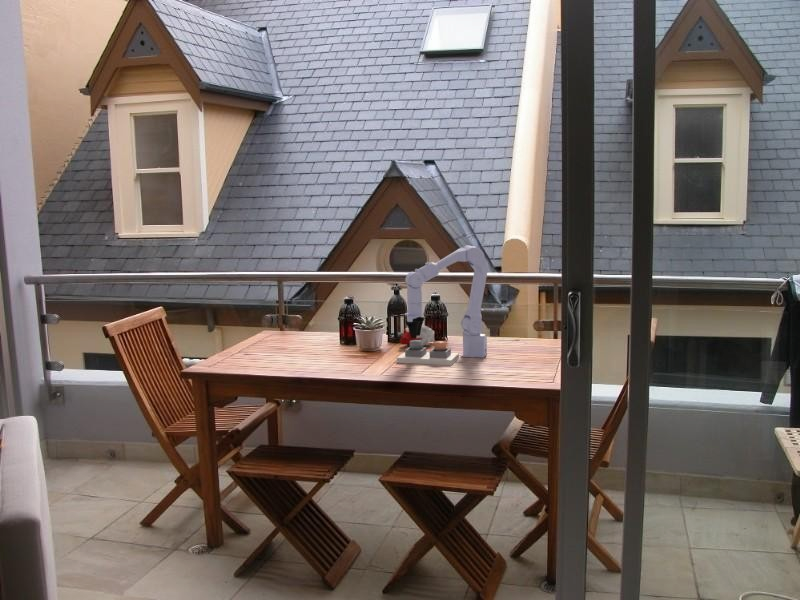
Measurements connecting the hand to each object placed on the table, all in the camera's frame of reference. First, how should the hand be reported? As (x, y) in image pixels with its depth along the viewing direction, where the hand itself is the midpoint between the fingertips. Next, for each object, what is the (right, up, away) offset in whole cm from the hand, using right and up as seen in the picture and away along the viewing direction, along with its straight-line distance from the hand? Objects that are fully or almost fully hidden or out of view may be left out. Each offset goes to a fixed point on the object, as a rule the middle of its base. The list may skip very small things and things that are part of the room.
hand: (415, 336), depth 315 cm
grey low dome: (0, -4, +1) cm, 4 cm away
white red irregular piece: (0, -6, +27) cm, 27 cm away
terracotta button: (+10, -5, -2) cm, 11 cm away
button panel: (+5, -9, 0) cm, 11 cm away
